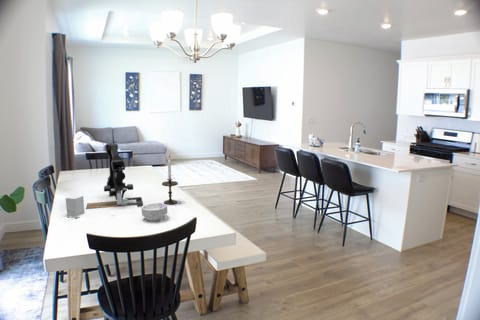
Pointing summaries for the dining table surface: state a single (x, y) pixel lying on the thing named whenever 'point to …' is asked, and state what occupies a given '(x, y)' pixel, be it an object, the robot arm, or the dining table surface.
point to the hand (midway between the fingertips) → (119, 199)
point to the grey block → (119, 198)
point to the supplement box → (75, 206)
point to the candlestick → (169, 185)
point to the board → (102, 205)
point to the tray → (138, 201)
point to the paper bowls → (154, 211)
